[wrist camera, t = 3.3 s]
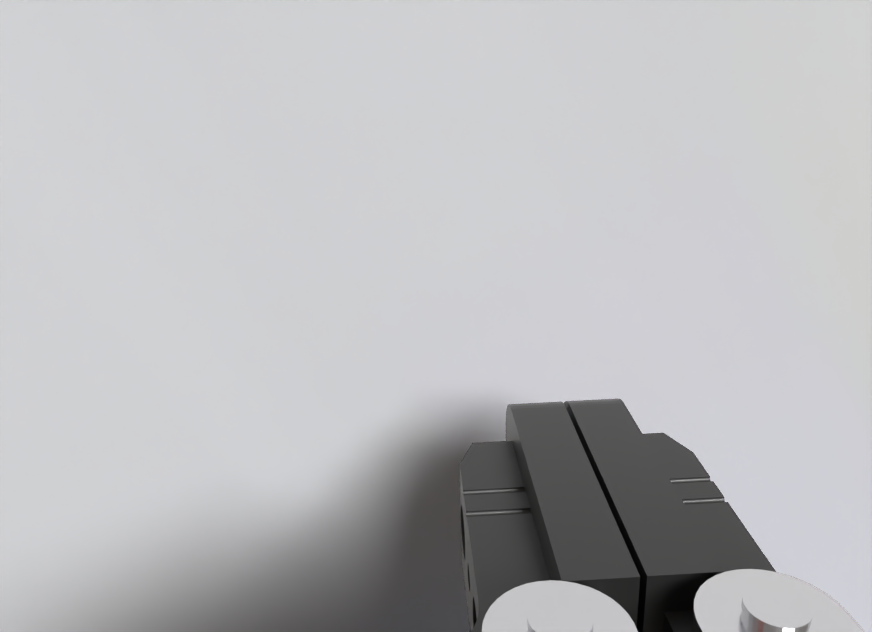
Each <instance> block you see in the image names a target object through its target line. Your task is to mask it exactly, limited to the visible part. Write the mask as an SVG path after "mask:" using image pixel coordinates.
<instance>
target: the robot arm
mask: <svg viewBox="0 0 872 632" xmlns="http://www.w3.org/2000/svg"><path fill="white" fill-rule="evenodd" d="M460 504H461V542H462V566H463V574H464V583H465V591H466V600H467V608H468V615H469V625H470V632H865V631H864V630H863V629H862V628H861V627H860V625H859V624H858V623H857V622H856V621H855V620H854V619H853V617H852V616H851V615H850V614H849V613H848V612H847V611H846V610H845V609H844V608H843V607H842V606H841V605H840V604H839V603H838V602H837V601H836V600H834V599H833V598H832V597H831V596H829V595H828V594H827V593H825V592H823V591H822V590H820V589H818V588H817V587H815V586H813V585H811V584H809V583H807V582H805V581H803V580H800V579H797V578H795V577H792V576H789V575H785V574H782V573H778V572H776V571H775V570H774V568H773V567H772V565H771V564H770V562H769V561H768V560H767V558H766V557H765V555H764V554H763V552H762V551H761V550H760V548H759V547H758V545H757V544H756V542H755V541H754V539H753V538H752V537H751V535H750V534H749V532H748V531H747V529H746V528H745V526H744V525H743V524H742V522H741V521H740V519H739V518H738V516H737V515H736V513H735V512H734V511H733V509H732V508H731V506H730V505H729V503H728V502H725V501H724V496H723V495H722V493H721V492H720V490H719V489H718V488H717V486H716V485H715V483H714V482H713V481H712V482H711V481H710V476H709V475H708V473H707V472H706V470H705V469H704V467H703V466H702V465H701V463H700V462H699V460H698V459H697V457H696V456H695V454H694V453H693V452H692V451H690V450H689V449H687V448H686V447H684V446H683V445H681V444H680V443H678V442H676V441H675V440H673V439H672V438H670V437H669V436H667V435H666V434H664V433H651V434H642V433H641V431H640V429H639V428H638V426H637V424H636V423H635V421H634V419H633V418H632V416H631V414H630V413H629V411H628V409H627V408H626V406H625V404H624V403H623V401H622V400H621V399H603V400H583V401H566V402H564V403H563V402H548V403H528V404H508V406H507V411H506V441H502V442H483V443H472V445H471V446H470V448H469V450H468V451H467V453H466V455H465V457H464V458H463V460H462V462H461V463H460Z"/></svg>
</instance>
